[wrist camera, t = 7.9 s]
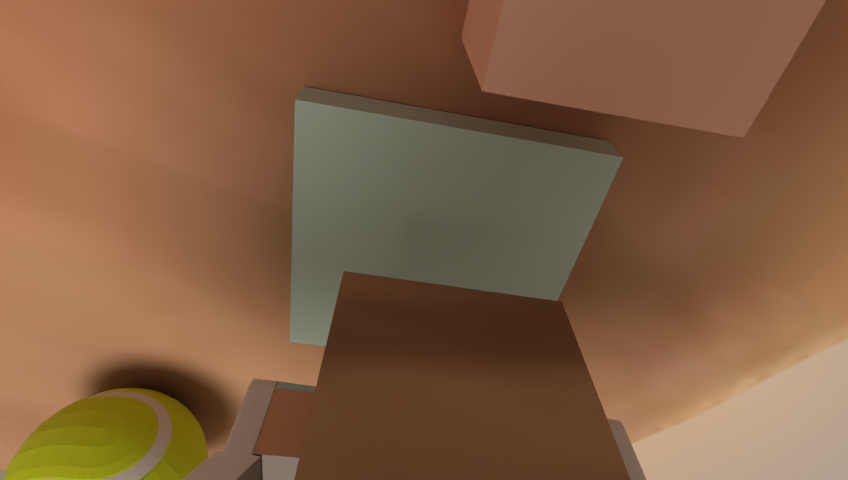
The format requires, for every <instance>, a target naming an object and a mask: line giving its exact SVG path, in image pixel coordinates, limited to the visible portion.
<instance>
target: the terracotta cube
mask: <svg viewBox="0 0 848 480" xmlns="http://www.w3.org/2000/svg"><path fill="white" fill-rule="evenodd" d="M825 2H826V0H469V2H468V7H467V12H466V17H465V22H464V26H463V31H462V36H461V39H462V42H463V44H464V47H465V49H466V52H467V54H468V57H469V59H470V62H471V65H472V67H473V70H474V72H475V75H476V77H477V80H478V82H479V85H480V87H481V90H482V91H483V92H489V93H494V94H500V95H506V96H511V97H517V98H522V99H528V100H533V101H539V102H544V103H550V104H556V105H561V106H567V107H572V108H578V109H583V110H589V111H595V112H600V113H606V114H611V115H617V116H622V117H628V118H633V119H639V120H645V121H650V122H656V123H661V124H667V125H672V126H678V127H684V128H689V129H695V130H700V131H706V132H711V133H717V134H722V135H728V136H734V137H739V138H744V137H745V136H746V134H747V132H748V131H749V129H750V127H751V126H752V124H753V122H754V121H755V119H756V117H757V116H758V114H759V112H760V111H761V109H762V107H763V106H764V104H765V102H766V101H767V99H768V97H769V96H770V94H771V92H772V91H773V89H774V87H775V86H776V84H777V82H778V81H779V79H780V77H781V76H782V74H783V72H784V71H785V69H786V67H787V66H788V64H789V62H790V60H791V59H792V57H793V55H794V54H795V52H796V50H797V49H798V47H799V45H800V44H801V42H802V40H803V39H804V37H805V35H806V34H807V32H808V30H809V29H810V27H811V25H812V24H813V22H814V20H815V19H816V17H817V15H818V14H819V12H820V10H821V9H822V7H823V5H824V4H825Z"/></svg>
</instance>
